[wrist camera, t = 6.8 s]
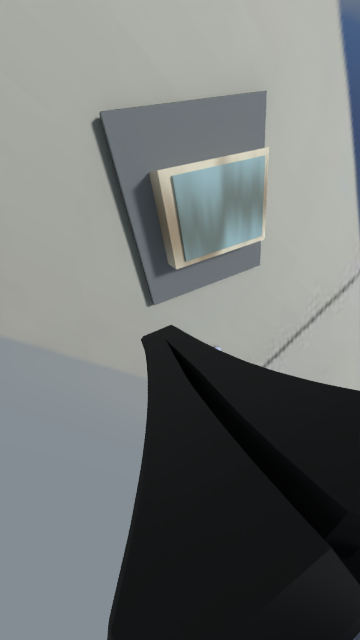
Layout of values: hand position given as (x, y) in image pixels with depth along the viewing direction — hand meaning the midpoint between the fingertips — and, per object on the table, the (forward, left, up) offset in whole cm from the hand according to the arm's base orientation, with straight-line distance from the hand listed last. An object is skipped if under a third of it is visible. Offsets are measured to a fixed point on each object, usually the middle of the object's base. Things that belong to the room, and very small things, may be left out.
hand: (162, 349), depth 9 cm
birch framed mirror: (+3, -4, -8) cm, 10 cm away
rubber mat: (+3, -8, -9) cm, 12 cm away
